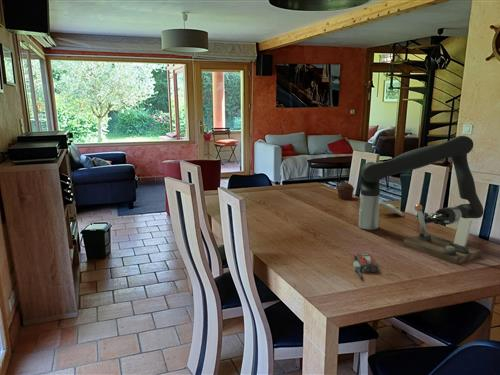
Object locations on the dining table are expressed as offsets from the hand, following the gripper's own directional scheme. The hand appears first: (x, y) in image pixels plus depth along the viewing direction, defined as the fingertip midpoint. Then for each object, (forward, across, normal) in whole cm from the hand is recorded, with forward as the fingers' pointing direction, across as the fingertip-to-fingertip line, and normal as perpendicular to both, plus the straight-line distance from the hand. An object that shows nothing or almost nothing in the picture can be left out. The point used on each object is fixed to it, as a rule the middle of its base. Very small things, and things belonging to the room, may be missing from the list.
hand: (423, 221), depth 171 cm
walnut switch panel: (-2, +8, +11) cm, 14 cm away
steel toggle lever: (-2, 0, +7) cm, 7 cm away
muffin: (-36, -89, +12) cm, 96 cm away
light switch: (-29, -44, +12) cm, 54 cm away
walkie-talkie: (+40, +6, +12) cm, 42 cm away
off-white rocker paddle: (-2, +16, +7) cm, 18 cm away
